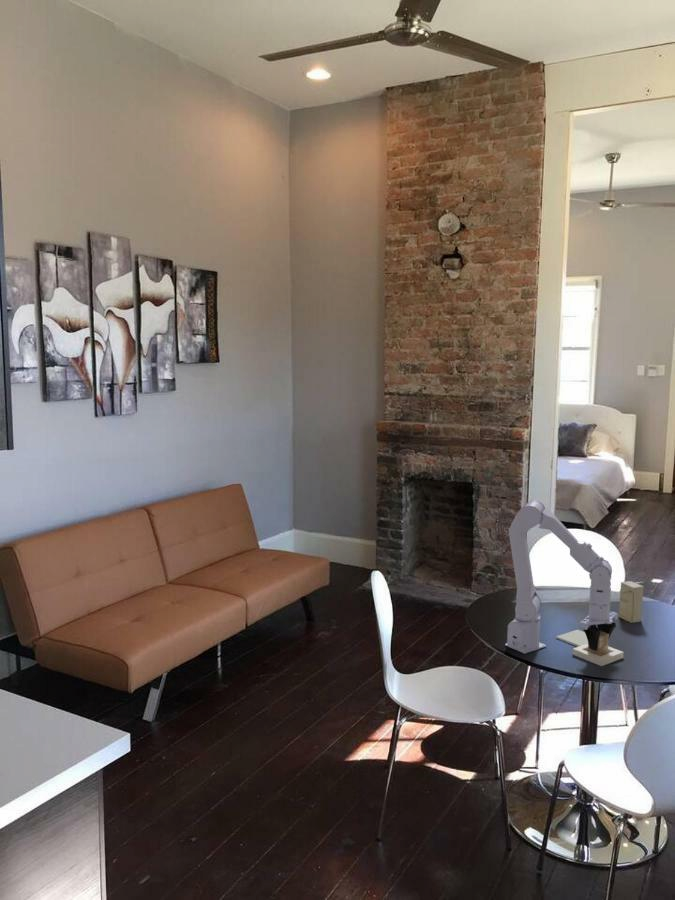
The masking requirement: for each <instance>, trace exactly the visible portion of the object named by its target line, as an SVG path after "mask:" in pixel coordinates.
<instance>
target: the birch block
mask: <svg viewBox="0 0 675 900" xmlns="http://www.w3.org/2000/svg"><path fill="white" fill-rule="evenodd" d="M609 642H610V638H609V634H608V633H605V632H601V634H600V636H599V640H598V647H597V650H596V651H594V650H592V649H590V648H589V644H588V652H590V653H593V654H595V655H598V656H603V655H606V654H608V646H609V644H610V643H609Z"/></svg>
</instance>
